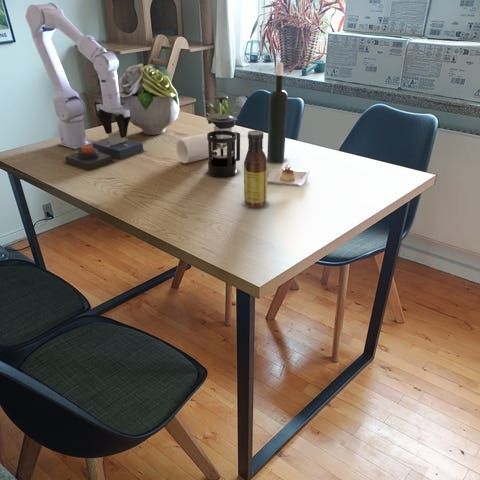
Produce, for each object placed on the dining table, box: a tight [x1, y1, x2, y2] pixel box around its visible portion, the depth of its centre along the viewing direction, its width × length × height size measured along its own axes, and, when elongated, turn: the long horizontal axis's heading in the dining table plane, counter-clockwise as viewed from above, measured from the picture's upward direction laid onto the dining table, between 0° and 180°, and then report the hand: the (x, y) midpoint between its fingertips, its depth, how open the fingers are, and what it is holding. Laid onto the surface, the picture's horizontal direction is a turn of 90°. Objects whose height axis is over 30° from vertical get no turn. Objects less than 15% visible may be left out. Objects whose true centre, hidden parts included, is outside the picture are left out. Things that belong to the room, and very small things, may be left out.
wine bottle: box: [266, 62, 288, 164], centre depth 160 cm, size 6×6×30 cm
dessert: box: [267, 164, 310, 187], centre depth 153 cm, size 12×12×5 cm
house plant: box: [203, 99, 237, 146], centre depth 180 cm, size 14×14×16 cm
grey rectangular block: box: [107, 129, 126, 145], centre depth 173 cm, size 6×2×4 cm, turn 143°
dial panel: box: [91, 137, 145, 160], centre depth 175 cm, size 14×11×3 cm
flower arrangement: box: [117, 63, 180, 136], centre depth 188 cm, size 25×25×24 cm
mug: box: [175, 133, 209, 164], centre depth 167 cm, size 12×10×8 cm
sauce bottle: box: [243, 129, 268, 209], centre depth 132 cm, size 6×6×20 cm
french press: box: [206, 95, 241, 179], centre depth 152 cm, size 12×9×23 cm
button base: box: [64, 148, 114, 171], centre depth 165 cm, size 12×10×4 cm
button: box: [80, 144, 93, 153], centre depth 163 cm, size 4×4×2 cm
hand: (116, 135), depth 172 cm, fingers open, 7 cm apart
